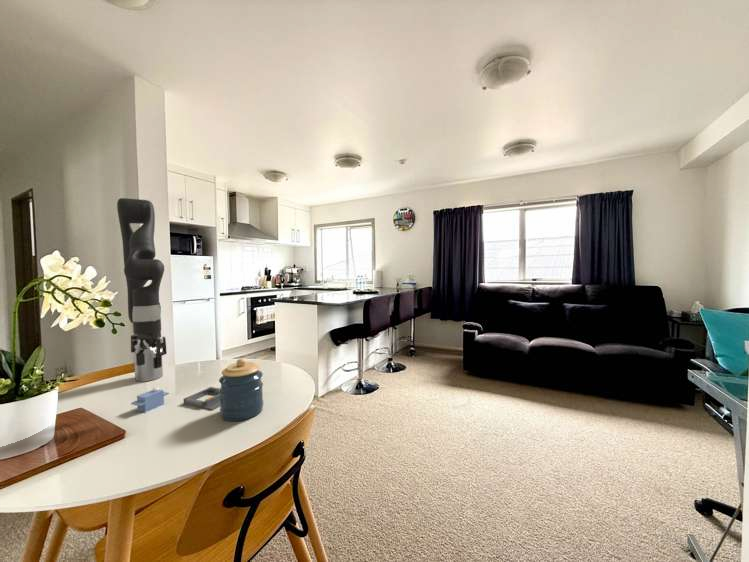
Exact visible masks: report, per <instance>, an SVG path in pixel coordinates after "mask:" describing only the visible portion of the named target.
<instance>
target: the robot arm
mask: <svg viewBox="0 0 749 562" xmlns="http://www.w3.org/2000/svg"><path fill="white" fill-rule="evenodd" d="M116 209H117V216H118V221H119V227H120V232H121V240H122V251H123V252H122V254H123V265H124V266H123V267H124V268H123V273H124V276H125V280H126V287H127V288H126V289H127V314H128V319H129V321H130V322H131V324H132V332H133V334H132V335H130V352H131V353H133V354H134V357H133V359H134V360H133V362H134V378H135V380H136V381H137V382H140V383H141V382H149V381H153V380H158V379H160V378H162V377H163V376H164V374H163V373H164V372H163V371H164V368H163V356H164V355H167V340H166V337H165V336H162V316H161V315H162V310H161V309H162V307H161V303H160V294H159V293H160V287H161V283H162V279H163V275H164V273H165V265H164V263H163V262H162V260H160V259H156V258H155V257H156V247H155V242H154V241H155V240H154V239H155V237H154V235H155V227H156V226H155V223H156V221H155V220H156V215H155V207H154V204H153V202H151V201H150V200H147V199H137V198H126V197H122V198H119V199H117V202H116ZM131 224H141V226H139V228H137V229H136V230H135V231H133V229H132V227H131ZM148 281H151V282H150V284H148V285H147V283H148Z"/></svg>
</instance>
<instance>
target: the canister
mask: <svg viewBox="0 0 749 562" xmlns="http://www.w3.org/2000/svg"><path fill="white" fill-rule="evenodd" d="M260 368H261V367H260V365H258V364H257V363H254V362H252V361H246V360H245V359H244V358H238V359H237V360H236V362H235V363H232V364H230V365H228V366H227V367H226V368H224V369H222V371H221V374H222V375H221V376H220V377H219V379H218V382H219V383H220V387H219V388H220V390H219V392H220V407H219V414H220V416H221V418H222V419H223V420H225V421H229V422H241V421H245V420H248V419H251V418H254V417H256V416H257V415H259V414H260V413H261V412H262V411H263V409H264V408H263V407H264V399H263V398H264V397H263V385H264V383H263V381H262V377H263V372H262V371H260Z"/></svg>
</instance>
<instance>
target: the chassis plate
mask: <svg viewBox="0 0 749 562" xmlns="http://www.w3.org/2000/svg"><path fill="white" fill-rule="evenodd" d="M220 388H221V387H219V388H218V387H215V386H210V387H207V388H205V389H203V390H200V391H198V392H196V393H193V394H191V395H189V396H186V397H185V398H183V405H187V406H192V407H197V408H200V409H206V410H210V411H214V410H216V409H218V408H220V407H221V406H220V392H219V390H220ZM214 393H215V395H214V396H212V397H211V396H209V397H208V398H206V399H204V401H203V400H201V399H200V398H203V397H205V396H207V395H209V394H214ZM199 399H200V400H199Z"/></svg>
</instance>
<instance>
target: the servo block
mask: <svg viewBox="0 0 749 562" xmlns="http://www.w3.org/2000/svg"><path fill="white" fill-rule="evenodd" d="M169 394H170V393H169V392H166V391H164V390H163V389H160V387H155V388H152V390H149V391H145V392H143V393H141V394H138V395H136V400H134V401H131V403H130V405H133V406H137V411H138V412H139V411H140V412H144V413H147V412H150V411H152V410H154V409H156V408H159V407H161V406H163V405H165V397H166V396H167V395H169Z"/></svg>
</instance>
